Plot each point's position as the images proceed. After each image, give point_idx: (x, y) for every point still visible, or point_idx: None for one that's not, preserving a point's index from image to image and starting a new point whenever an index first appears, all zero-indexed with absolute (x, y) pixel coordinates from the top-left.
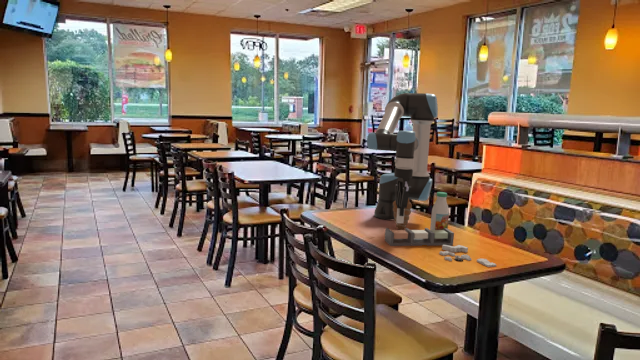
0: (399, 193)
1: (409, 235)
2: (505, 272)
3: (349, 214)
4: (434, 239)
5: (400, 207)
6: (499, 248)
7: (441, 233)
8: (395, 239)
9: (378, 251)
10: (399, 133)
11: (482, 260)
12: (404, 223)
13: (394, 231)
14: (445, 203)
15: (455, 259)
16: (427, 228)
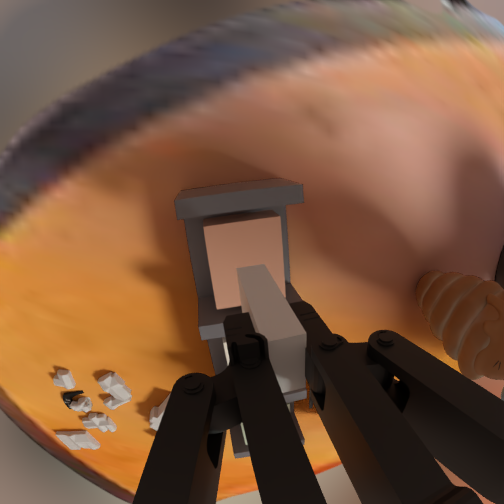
0: (391, 495)
1: (224, 311)
2: (42, 441)
3: None
4: None
5: (233, 370)
6: (219, 483)
7: (242, 429)
8: None
9: (86, 122)
10: None
11: (79, 440)
12: (423, 309)
13: (247, 234)
14: None
15: (68, 394)
16: (298, 399)
